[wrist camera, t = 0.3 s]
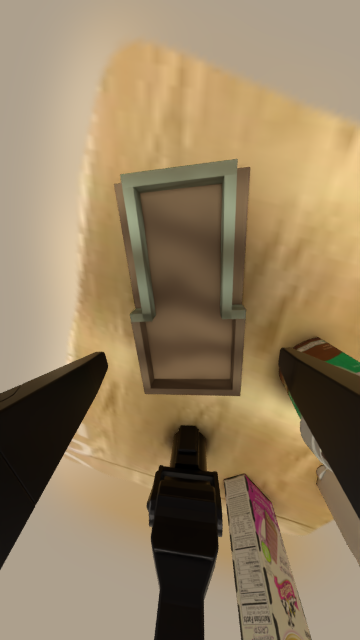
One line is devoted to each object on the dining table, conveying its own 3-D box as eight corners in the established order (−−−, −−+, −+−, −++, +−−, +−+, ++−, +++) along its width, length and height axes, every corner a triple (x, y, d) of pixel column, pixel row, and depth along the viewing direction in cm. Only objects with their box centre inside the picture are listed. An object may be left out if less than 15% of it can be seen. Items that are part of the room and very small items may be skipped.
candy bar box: (273, 502, 36) (327, 686, 21) (251, 507, 37) (286, 683, 22) (245, 471, 33) (284, 659, 18) (222, 478, 35) (240, 657, 20)
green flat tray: (236, 382, 26) (240, 395, 23) (149, 381, 27) (144, 393, 25) (248, 169, 17) (256, 156, 14) (116, 185, 18) (104, 176, 16)
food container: (264, 336, 23) (309, 397, 13) (317, 326, 22) (407, 385, 12) (274, 407, 27) (314, 491, 18) (319, 402, 26) (387, 488, 16)
